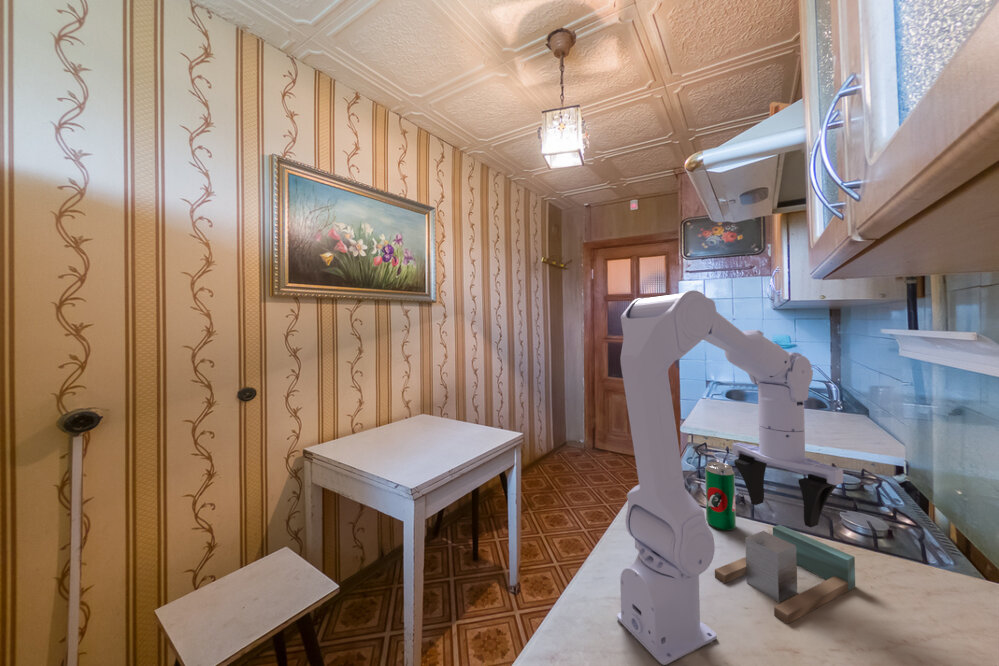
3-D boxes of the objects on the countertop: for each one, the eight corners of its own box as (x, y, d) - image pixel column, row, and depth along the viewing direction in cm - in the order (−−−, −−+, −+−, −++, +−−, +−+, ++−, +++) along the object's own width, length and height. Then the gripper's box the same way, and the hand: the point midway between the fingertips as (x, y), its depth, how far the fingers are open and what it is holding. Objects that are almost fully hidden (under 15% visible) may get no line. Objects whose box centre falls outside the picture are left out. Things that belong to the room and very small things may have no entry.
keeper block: (778, 602, 51) (777, 553, 51) (746, 582, 55) (745, 537, 55) (797, 593, 53) (796, 545, 53) (764, 574, 57) (763, 530, 57)
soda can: (740, 533, 69) (739, 470, 69) (711, 530, 70) (710, 469, 70) (729, 519, 74) (727, 461, 74) (702, 517, 75) (701, 460, 75)
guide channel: (787, 624, 47) (786, 590, 47) (714, 577, 57) (714, 548, 57) (855, 586, 54) (854, 556, 54) (780, 550, 63) (779, 524, 63)
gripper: (853, 435, 52) (856, 530, 51) (749, 415, 65) (751, 490, 65) (826, 441, 49) (828, 541, 49) (723, 419, 62) (725, 498, 62)
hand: (782, 513), depth 57 cm, fingers open, 7 cm apart
